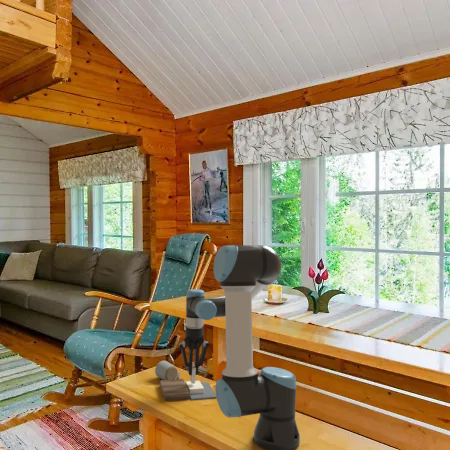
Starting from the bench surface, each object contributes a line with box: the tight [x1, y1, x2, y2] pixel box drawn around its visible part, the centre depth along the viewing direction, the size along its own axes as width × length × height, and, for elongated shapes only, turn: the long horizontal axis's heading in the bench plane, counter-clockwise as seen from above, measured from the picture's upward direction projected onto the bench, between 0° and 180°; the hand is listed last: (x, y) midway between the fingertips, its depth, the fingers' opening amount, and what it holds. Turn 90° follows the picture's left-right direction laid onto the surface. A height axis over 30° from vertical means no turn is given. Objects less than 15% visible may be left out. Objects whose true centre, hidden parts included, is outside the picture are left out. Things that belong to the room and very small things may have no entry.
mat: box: [190, 381, 217, 401], centre depth 186 cm, size 16×10×1 cm, turn 15°
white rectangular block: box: [185, 380, 204, 394], centre depth 187 cm, size 9×6×2 cm, turn 16°
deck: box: [159, 378, 191, 402], centre depth 185 cm, size 16×10×2 cm, turn 15°
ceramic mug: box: [154, 360, 181, 380], centre depth 200 cm, size 11×8×8 cm
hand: (192, 382), depth 187 cm, fingers closed
